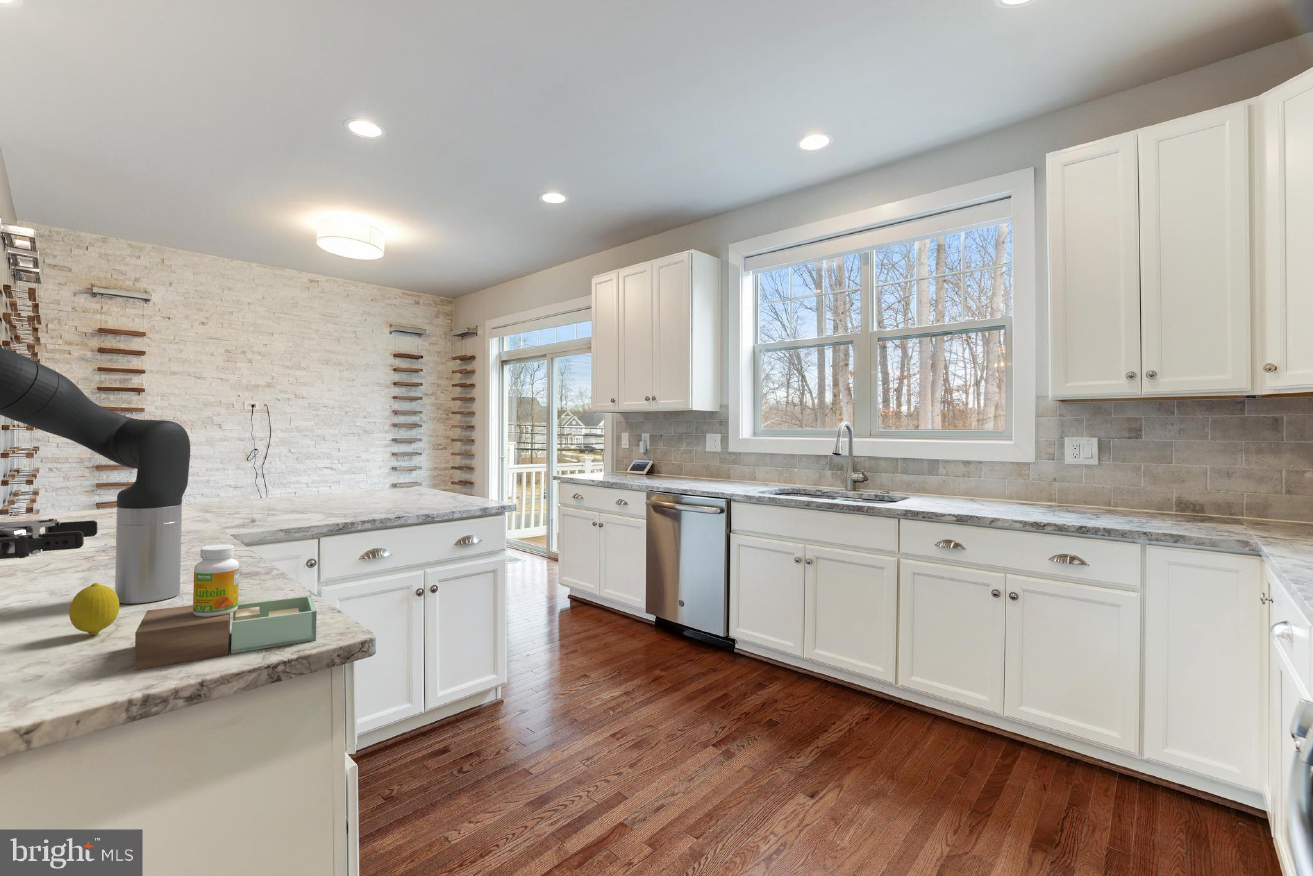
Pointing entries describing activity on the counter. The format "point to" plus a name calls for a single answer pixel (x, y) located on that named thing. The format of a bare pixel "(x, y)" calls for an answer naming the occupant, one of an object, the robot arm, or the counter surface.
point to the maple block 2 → (283, 612)
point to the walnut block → (179, 637)
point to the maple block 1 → (247, 613)
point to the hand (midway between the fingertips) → (90, 533)
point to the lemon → (94, 608)
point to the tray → (275, 625)
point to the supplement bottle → (216, 582)
